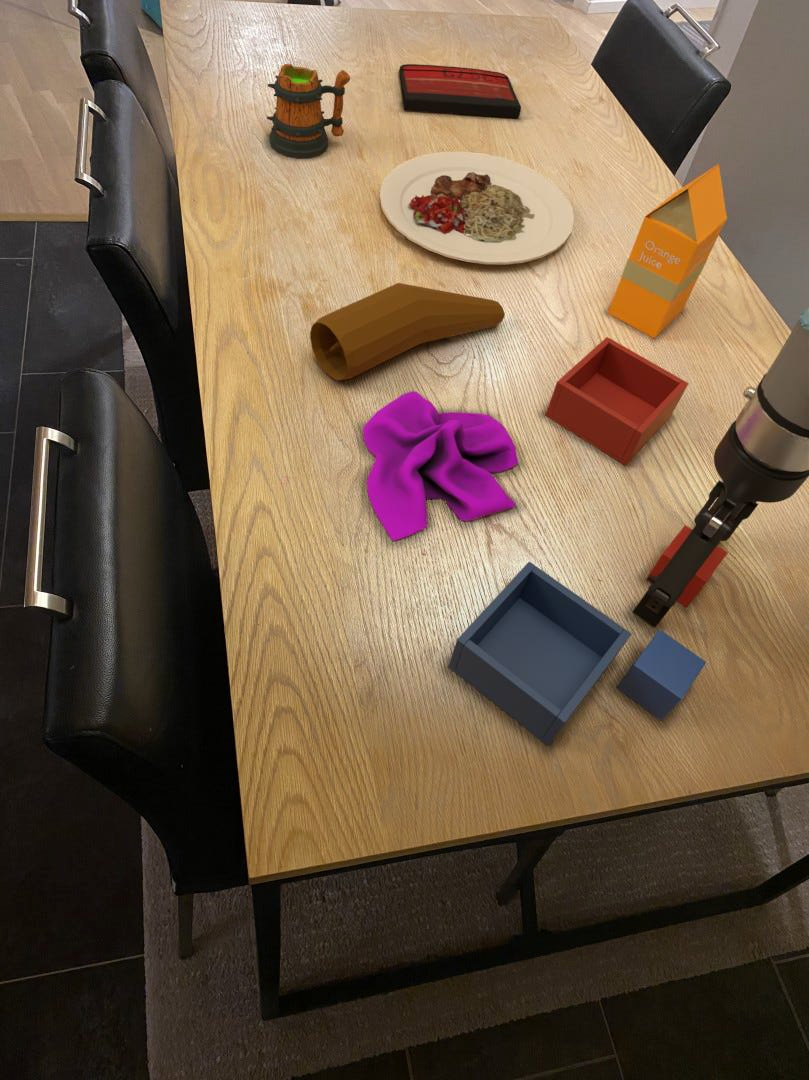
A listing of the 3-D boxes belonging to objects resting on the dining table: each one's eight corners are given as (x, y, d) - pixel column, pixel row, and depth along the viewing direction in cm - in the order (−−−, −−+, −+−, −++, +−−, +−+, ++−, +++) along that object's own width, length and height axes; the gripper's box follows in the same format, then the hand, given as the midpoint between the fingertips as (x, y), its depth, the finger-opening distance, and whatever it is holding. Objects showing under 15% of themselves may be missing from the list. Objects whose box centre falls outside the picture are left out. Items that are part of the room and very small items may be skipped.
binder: (521, 105, 135) (404, 97, 132) (519, 119, 137) (403, 111, 134) (507, 68, 145) (398, 60, 142) (505, 81, 146) (397, 74, 144)
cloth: (373, 387, 93) (377, 348, 88) (522, 414, 93) (534, 376, 88) (337, 531, 80) (339, 494, 75) (511, 562, 80) (524, 527, 75)
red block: (707, 578, 81) (728, 552, 77) (686, 608, 79) (706, 582, 75) (666, 551, 83) (685, 524, 79) (644, 580, 80) (662, 553, 76)
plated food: (608, 224, 120) (615, 204, 117) (487, 300, 105) (492, 280, 102) (465, 143, 130) (468, 123, 127) (338, 203, 115) (338, 182, 113)
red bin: (671, 416, 95) (689, 383, 91) (625, 466, 90) (642, 433, 85) (593, 370, 99) (607, 336, 94) (544, 415, 93) (556, 381, 89)
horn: (486, 335, 105) (344, 409, 94) (448, 271, 104) (300, 338, 93) (517, 308, 98) (366, 385, 87) (475, 239, 97) (318, 308, 86)
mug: (266, 157, 121) (262, 79, 112) (269, 125, 127) (266, 49, 117) (347, 163, 122) (351, 87, 113) (347, 131, 128) (350, 56, 119)
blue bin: (612, 660, 74) (632, 633, 70) (548, 746, 68) (565, 722, 64) (516, 591, 78) (529, 561, 73) (447, 667, 72) (456, 639, 68)
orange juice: (683, 310, 108) (748, 175, 92) (654, 339, 104) (718, 202, 88) (636, 285, 111) (691, 149, 95) (606, 312, 106) (659, 174, 90)
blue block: (685, 684, 74) (707, 661, 69) (661, 721, 71) (682, 699, 67) (640, 653, 75) (659, 628, 71) (615, 687, 73) (633, 664, 69)
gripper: (792, 349, 71) (697, 491, 88) (667, 501, 58) (585, 631, 76) (868, 390, 68) (756, 528, 86) (755, 557, 56) (650, 678, 73)
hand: (675, 577), depth 81 cm, fingers open, 13 cm apart
